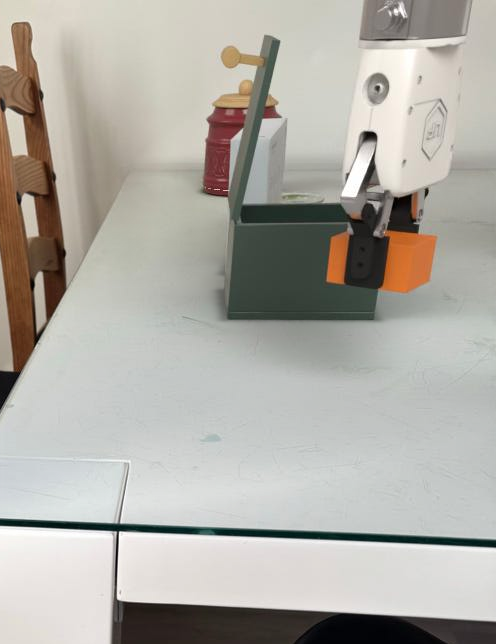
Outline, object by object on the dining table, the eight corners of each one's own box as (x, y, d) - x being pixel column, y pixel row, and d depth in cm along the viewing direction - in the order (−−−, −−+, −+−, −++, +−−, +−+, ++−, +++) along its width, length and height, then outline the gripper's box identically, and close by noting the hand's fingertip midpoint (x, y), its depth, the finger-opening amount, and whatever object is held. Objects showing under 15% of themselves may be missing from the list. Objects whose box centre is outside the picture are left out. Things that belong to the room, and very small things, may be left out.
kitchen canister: (287, 193, 176) (299, 79, 167) (218, 199, 174) (226, 83, 165) (256, 183, 187) (265, 75, 178) (191, 188, 185) (197, 79, 175)
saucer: (269, 206, 167) (271, 191, 165) (328, 209, 163) (330, 193, 161) (253, 217, 159) (254, 200, 158) (314, 220, 156) (316, 203, 154)
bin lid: (271, 35, 106) (225, 28, 107) (280, 40, 96) (229, 32, 96) (234, 200, 115) (191, 193, 116) (238, 220, 105) (191, 213, 105)
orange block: (429, 281, 83) (437, 235, 81) (405, 293, 80) (413, 246, 78) (351, 271, 87) (356, 227, 85) (325, 282, 84) (331, 237, 82)
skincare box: (241, 241, 145) (251, 117, 136) (279, 242, 143) (292, 117, 134) (219, 274, 128) (230, 136, 119) (263, 276, 126) (276, 136, 118)
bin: (357, 290, 119) (370, 202, 113) (373, 319, 108) (388, 223, 103) (223, 290, 121) (230, 203, 116) (227, 319, 110) (234, 224, 105)
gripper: (411, 29, 66) (372, 310, 76) (511, 14, 76) (464, 264, 86) (309, 31, 70) (284, 296, 81) (416, 16, 80) (382, 254, 90)
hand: (378, 277), depth 83 cm, fingers closed on orange block, 4 cm apart
